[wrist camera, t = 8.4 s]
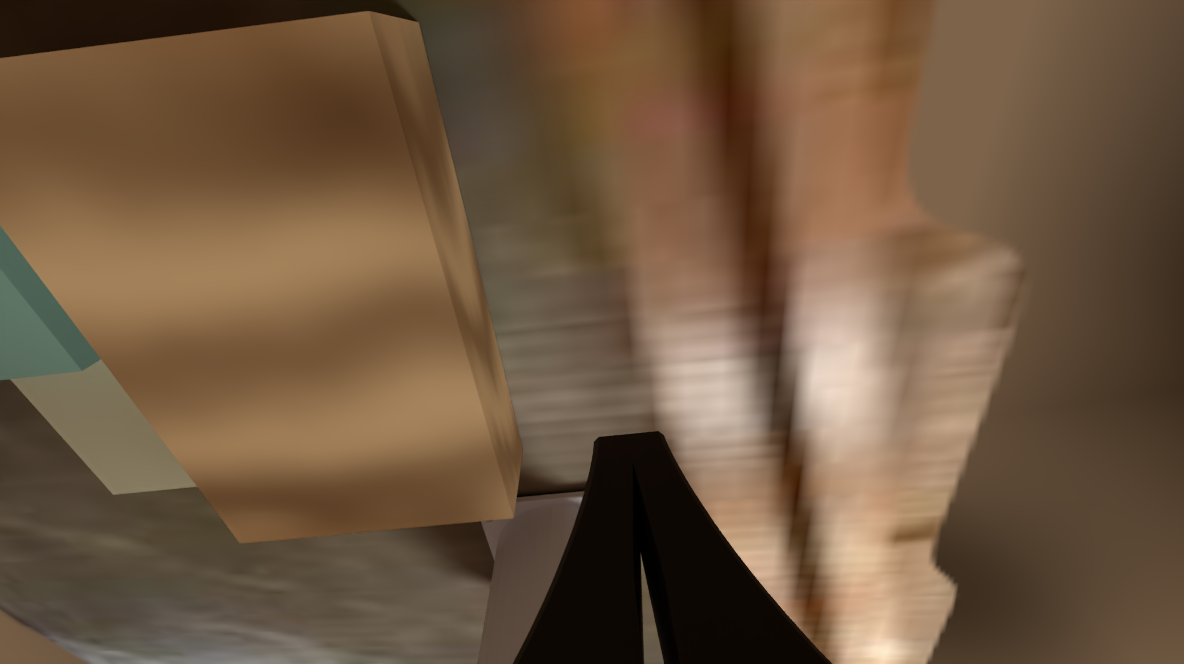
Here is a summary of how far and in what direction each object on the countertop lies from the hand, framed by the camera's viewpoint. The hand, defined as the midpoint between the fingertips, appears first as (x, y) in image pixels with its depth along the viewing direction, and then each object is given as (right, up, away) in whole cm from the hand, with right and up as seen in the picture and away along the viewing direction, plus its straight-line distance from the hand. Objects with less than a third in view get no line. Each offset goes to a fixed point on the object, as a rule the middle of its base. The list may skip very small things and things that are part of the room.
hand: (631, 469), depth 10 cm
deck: (-11, +4, +9) cm, 15 cm away
